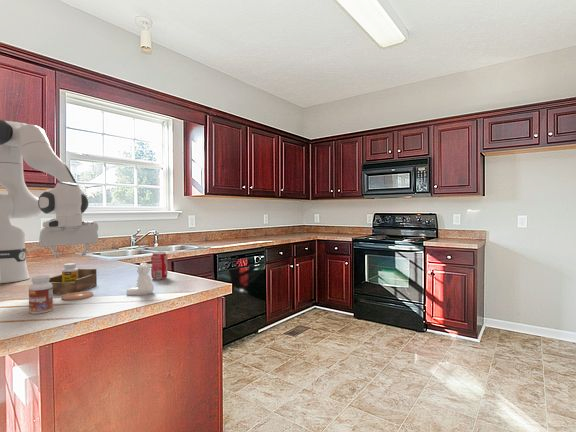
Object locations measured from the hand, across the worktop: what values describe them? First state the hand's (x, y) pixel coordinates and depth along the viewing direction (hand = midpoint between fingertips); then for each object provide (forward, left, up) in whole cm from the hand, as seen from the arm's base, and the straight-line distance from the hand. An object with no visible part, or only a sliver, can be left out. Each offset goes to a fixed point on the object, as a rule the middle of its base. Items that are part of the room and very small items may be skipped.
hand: (70, 256), depth 140 cm
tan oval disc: (+11, -12, -13) cm, 21 cm away
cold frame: (0, 0, -13) cm, 13 cm away
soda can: (+28, +21, -14) cm, 37 cm away
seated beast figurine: (+33, -6, -14) cm, 36 cm away
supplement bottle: (0, 0, -14) cm, 14 cm away
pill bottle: (+11, -30, -14) cm, 34 cm away
